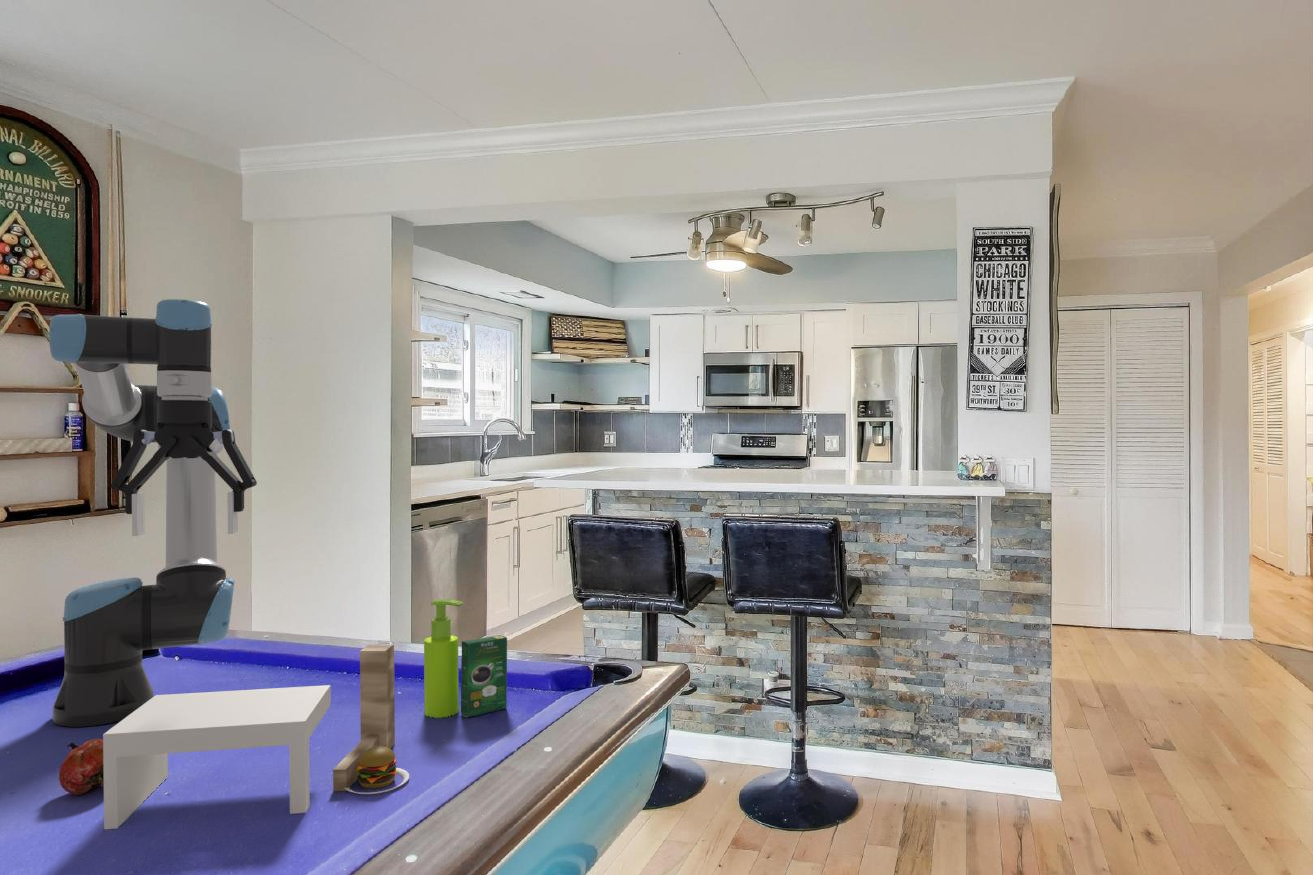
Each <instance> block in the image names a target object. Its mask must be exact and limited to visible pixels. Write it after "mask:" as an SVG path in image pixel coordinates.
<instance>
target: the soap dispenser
mask: <svg viewBox="0 0 1313 875" xmlns="http://www.w3.org/2000/svg"><path fill="white" fill-rule="evenodd" d="M464 602H465V601H464ZM464 602H463V601H460V600H457V599H452V598H451V599H449V598H447V599H445V598H443V599H435V600H433V601H431V603H430V604H431V606H435V616H434V617H433V618H432V619H431V620H430V621H431V622H430V628H431V630H430V631H431V632H430V633H431V634H430V635H431V636H428V637H426V638H424V639H423V658H424V659H423V660H424V661H423V662H424V663H423V667H424V668H423V671H424V672H423V673H424V674H423V676H424V679H423V681H424V684H423V685H424V689H423V690H424V716H426V717H428V716H429V717H428V718H432V717H434V718H436V719H441V718H442V717H443V718H449V717H452V716H455V715H457V714H458V713H459V710H460V706H459V705H460V702H459V697H460V696H459V694H460V692H459V691H460V690H459V637H458V636H456V635H452V626H451V625H452V618H450V617H449V616H446V615H447V612H446V611H447V606H453V607H456V608H458V607H461V606H462V605H463V604H464ZM451 715H452V716H451ZM448 716H449V717H448ZM443 718H442V719H443Z"/></svg>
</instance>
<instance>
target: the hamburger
mask: <svg viewBox="0 0 1313 875" xmlns="http://www.w3.org/2000/svg"><path fill="white" fill-rule="evenodd" d="M396 764H397V759H396V754H395V753H394V751H393V750H392V748H391V749H389V748H387V747H383V746H377V747H373V748H370V749H368V750H366V751H365V752H363V753H362V755H361V756H360V758H359V762H358V767H357V770H356V771H355V772H357V773H358V774H357V776H358V778H357V779H356V780H358V782H359V784H360V786H361V788H365V789H373V790H374V789H380V788H384V787H387V786H390V785H391V783H393V782H394V781H395V778H396V776H398V775H399V776H400V777H402V778H403V781H401V783H400V784H398V785H397V786H394V787H392V788H388V789H385V790H379V791H371V792H358V791H355V790H352V789H351V786H350V787H348V788H345V789H346V790H347V791H348V792H350V793H354V794H357V795H359V794H360V795H377V794H378V795H379V794H383V793H388V792H390V791H393V790H395V789H397V788H399V787H401V786H402V785H405V783H407V782H408V780H409V779H410V773H409V772H408V771H407V770H405V769H404V768H400V767H396V766H397V765H396ZM347 791H346V792H347Z"/></svg>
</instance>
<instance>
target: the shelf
mask: <svg viewBox="0 0 1313 875" xmlns="http://www.w3.org/2000/svg"><path fill="white" fill-rule="evenodd" d="M331 689H332V687H331V684H325V685H324V684H323V685H309V686H307V685H306V686H294V687H293V686H290V687H278V688H277V687H276V688H273V687H272V688H260V689H259V688H256V689H241V690H225V691H224V690H222V691H207V692H190V693H188V692H187V693H173V694H172V693H170V694H156V695H155V694H154V697H153V698H151V699H150V700H149V701H147V702H146V703H145V704H143V705H142V706H141V707H139V708H138V709H137V710H135V711H134V712H133V713H131V714H130V715H128V716H127V717H126V718H124V719H123V720H121V721H118V723H117V724H114V726H112V727H111V728H109V729H108V730H107V731H106V732H104V733H103V734H102V740H103V764H104V786H103V829H104V830H113V829H119V827H121V825H122V824H123V823H124V822H126V821H127V819H129V817H130V816H131V815H132V814H134V812H135V811H136V810H137V809H138V808H140V806H141V805H142V804H143V803H144V802H145V801H146V800H147V799H148V798H149V797H150V796H151V795H152V794H153V793H154V792H155V791H156V790H157V789H158V788H159V787H160V786H161V785H162V784H163V783H164V780H165V779H166V780H167V779H168V777H169V766H168V765H169V763H168V762H169V761H168V759H169V757H168V756H169V754H180V753H195V752H197V753H198V752H210V751H224V750H236V749H237V750H239V749H253V748H268V747H269V748H270V747H281V746H289V748H288V751H289V753H288V756H289V757H288V758H289V815H294V814H306V813H307V812H308V810H309V808H310V806H311V802H310V799H311V798H310V797H311V796H310V792H311V791H310V784H311V783H310V738H311V736H312V735H313V733H314V732H315V730H316V729H317V727H318V726H319V724H320V722H321V721H322V720H323V718H324V716H325V715H326V713H327V712H328V710H329V708H330V707H331V705H332V701H331V700H332V696H331V695H332V694H331V693H332V692H331V691H332V690H331ZM166 780H165V781H166ZM161 783H162V784H161ZM160 784H161V785H160ZM159 785H160V786H159ZM157 787H158V788H157ZM156 788H157V789H156ZM152 792H153V793H152ZM151 793H152V794H151ZM150 794H151V795H150ZM148 796H149V797H148ZM147 797H148V798H147ZM144 800H145V801H144ZM143 801H144V802H143Z"/></svg>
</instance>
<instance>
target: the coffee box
mask: <svg viewBox="0 0 1313 875" xmlns="http://www.w3.org/2000/svg"><path fill="white" fill-rule="evenodd" d="M460 667H461V668H460V670H461V671H460V673H461V674H460V678H461V679H460V714H461V716H463V717H464V718H471V717H477V716H478V717H479V715H484V714H487V713H493V712H499V711H501V710H507V705H508V699H507V698H508V696H507V693H508V692H507V690H508V689H507V687H508V686H507V685H508V682H507V681H508V680H507V679H508V678H507V677H508V676H507V675H508V638H507V637H506V636H504V635H494V636H486V637H480V638H475V639H468V640H462V641H461V666H460Z"/></svg>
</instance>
